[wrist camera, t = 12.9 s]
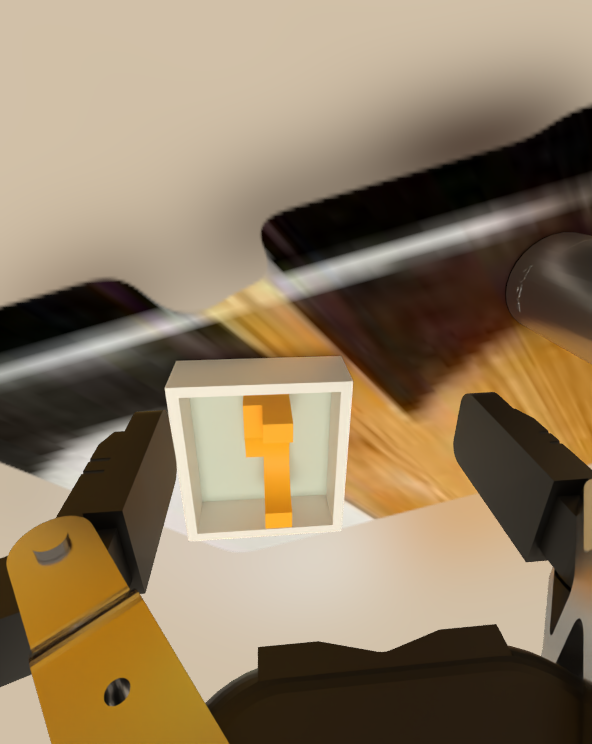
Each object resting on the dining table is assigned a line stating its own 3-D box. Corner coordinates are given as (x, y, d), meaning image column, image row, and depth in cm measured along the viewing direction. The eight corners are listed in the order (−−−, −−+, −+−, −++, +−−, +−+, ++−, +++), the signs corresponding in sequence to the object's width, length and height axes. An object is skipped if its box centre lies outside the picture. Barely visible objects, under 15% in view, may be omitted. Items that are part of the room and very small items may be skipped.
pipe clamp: (243, 388, 40) (241, 425, 34) (287, 387, 40) (293, 423, 34) (248, 483, 45) (247, 529, 39) (287, 481, 45) (292, 527, 40)
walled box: (341, 355, 40) (353, 381, 35) (332, 494, 48) (341, 531, 43) (176, 360, 39) (164, 388, 34) (195, 502, 47) (188, 541, 42)
